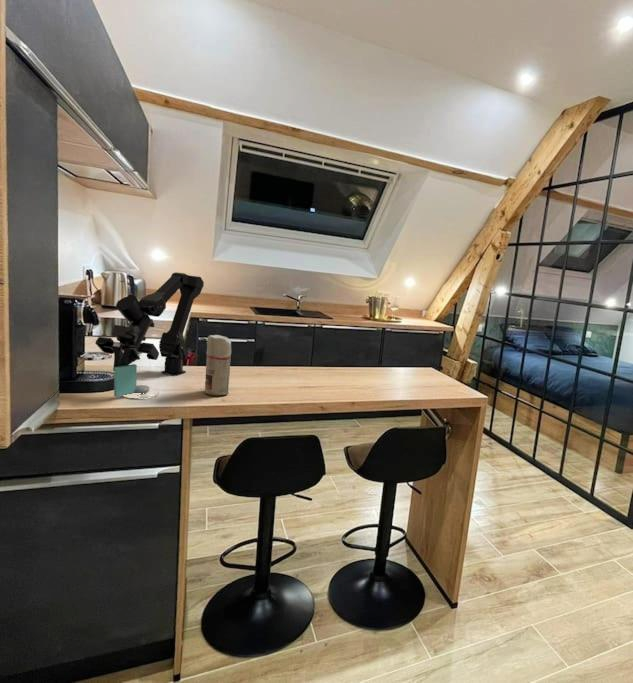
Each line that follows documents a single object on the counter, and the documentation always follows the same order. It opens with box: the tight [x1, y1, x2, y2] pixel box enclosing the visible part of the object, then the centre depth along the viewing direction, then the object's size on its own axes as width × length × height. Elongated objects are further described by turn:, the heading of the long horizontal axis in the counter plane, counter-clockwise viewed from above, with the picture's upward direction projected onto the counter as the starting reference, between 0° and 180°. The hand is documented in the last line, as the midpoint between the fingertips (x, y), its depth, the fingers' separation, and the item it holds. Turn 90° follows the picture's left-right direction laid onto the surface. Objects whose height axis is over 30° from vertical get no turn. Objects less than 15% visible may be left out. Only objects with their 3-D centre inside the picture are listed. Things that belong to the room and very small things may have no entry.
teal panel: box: [113, 363, 149, 398], centre depth 125 cm, size 11×5×9 cm, turn 147°
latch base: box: [137, 386, 160, 398], centre depth 129 cm, size 11×11×1 cm
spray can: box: [203, 334, 232, 397], centre depth 135 cm, size 8×8×20 cm
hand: (115, 371), depth 122 cm, fingers closed
